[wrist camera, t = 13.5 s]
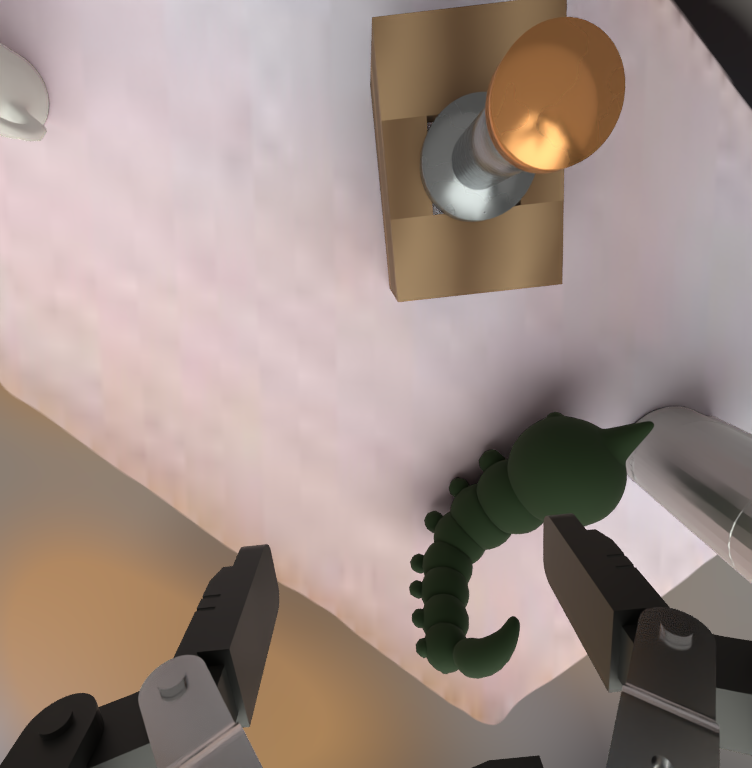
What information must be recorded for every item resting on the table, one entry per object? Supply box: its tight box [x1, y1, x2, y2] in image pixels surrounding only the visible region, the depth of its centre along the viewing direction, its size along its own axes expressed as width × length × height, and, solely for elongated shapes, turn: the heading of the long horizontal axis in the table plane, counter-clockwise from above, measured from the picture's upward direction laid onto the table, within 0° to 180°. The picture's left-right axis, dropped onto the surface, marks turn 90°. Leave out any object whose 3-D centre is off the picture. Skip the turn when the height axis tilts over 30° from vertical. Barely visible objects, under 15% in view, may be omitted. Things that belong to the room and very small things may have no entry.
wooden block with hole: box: [370, 0, 567, 302], centre depth 33 cm, size 11×16×11 cm
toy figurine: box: [409, 412, 654, 679], centre depth 37 cm, size 9×19×25 cm
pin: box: [420, 17, 625, 222], centre depth 25 cm, size 7×7×20 cm
